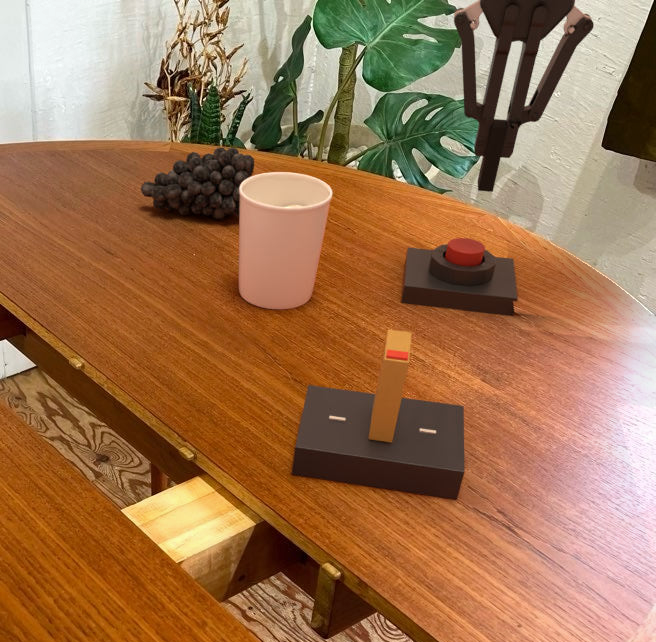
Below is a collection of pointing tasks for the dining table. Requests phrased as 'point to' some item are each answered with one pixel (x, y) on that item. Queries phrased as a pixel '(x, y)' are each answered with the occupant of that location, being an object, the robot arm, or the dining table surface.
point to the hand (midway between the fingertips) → (485, 186)
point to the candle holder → (281, 237)
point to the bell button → (465, 252)
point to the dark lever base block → (381, 444)
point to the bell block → (459, 282)
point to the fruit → (188, 183)
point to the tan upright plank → (390, 385)
